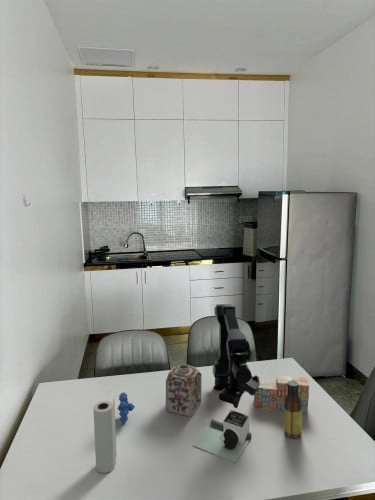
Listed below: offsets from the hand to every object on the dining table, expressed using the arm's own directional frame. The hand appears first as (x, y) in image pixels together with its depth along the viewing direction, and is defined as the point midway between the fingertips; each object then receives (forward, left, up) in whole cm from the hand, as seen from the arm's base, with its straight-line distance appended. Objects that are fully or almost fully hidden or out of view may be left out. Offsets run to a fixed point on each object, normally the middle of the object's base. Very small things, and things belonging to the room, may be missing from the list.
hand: (235, 407), depth 137 cm
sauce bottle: (+20, +5, -7) cm, 22 cm away
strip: (0, -5, -7) cm, 9 cm away
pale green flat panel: (0, -13, -7) cm, 15 cm away
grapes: (-37, -21, -7) cm, 43 cm away
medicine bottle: (+3, -4, -2) cm, 5 cm away
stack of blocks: (+11, +20, -7) cm, 24 cm away
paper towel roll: (-27, -42, -7) cm, 50 cm away
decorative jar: (-23, -1, -7) cm, 24 cm away
